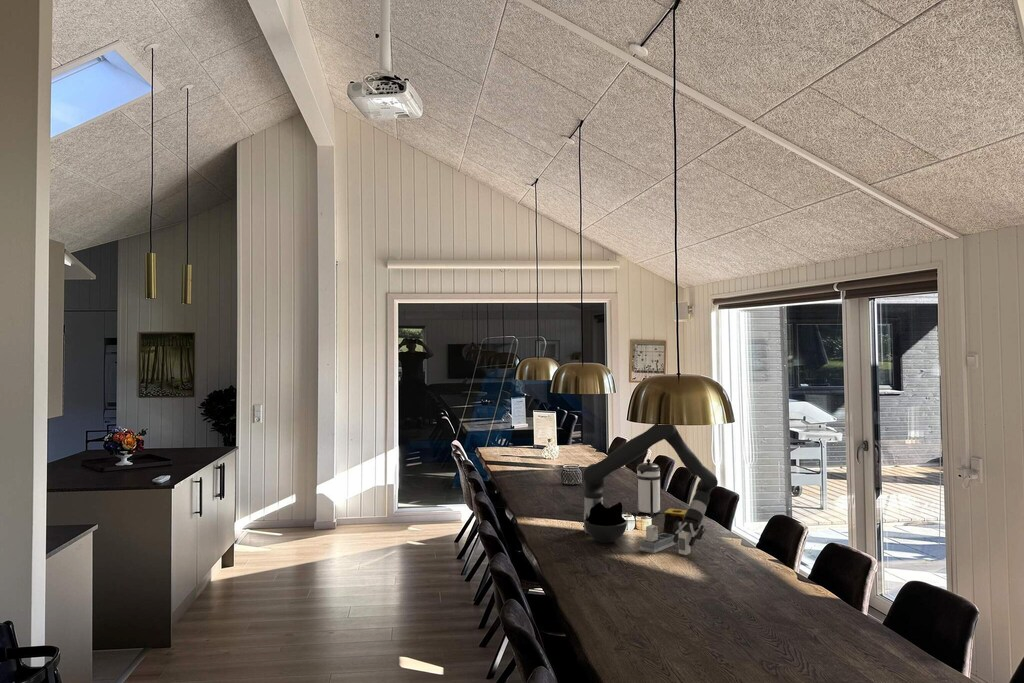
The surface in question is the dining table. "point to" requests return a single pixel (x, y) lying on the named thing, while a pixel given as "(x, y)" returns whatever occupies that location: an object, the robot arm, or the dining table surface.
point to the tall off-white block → (684, 543)
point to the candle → (673, 518)
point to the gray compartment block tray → (656, 540)
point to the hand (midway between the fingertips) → (682, 544)
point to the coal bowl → (605, 523)
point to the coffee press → (648, 488)
